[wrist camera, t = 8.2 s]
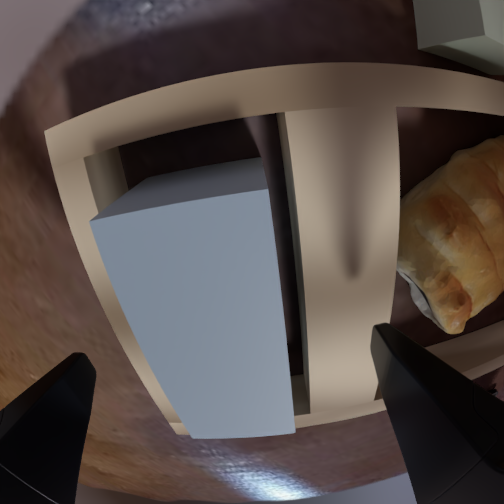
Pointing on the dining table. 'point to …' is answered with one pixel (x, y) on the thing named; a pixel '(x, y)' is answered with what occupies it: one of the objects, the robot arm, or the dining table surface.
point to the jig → (294, 206)
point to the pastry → (455, 236)
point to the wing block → (204, 295)
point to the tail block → (463, 31)
